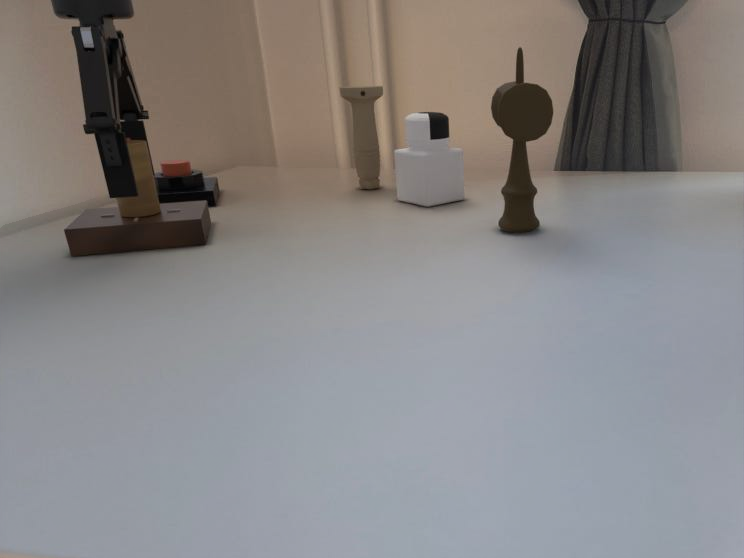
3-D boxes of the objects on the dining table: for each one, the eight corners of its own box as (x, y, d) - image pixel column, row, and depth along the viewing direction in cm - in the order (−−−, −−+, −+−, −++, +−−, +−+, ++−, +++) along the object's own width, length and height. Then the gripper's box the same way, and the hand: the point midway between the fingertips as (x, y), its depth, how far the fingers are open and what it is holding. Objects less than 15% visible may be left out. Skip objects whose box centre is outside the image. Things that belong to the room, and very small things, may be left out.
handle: (348, 186, 109) (338, 86, 103) (388, 184, 111) (380, 85, 104) (350, 192, 105) (340, 88, 99) (391, 189, 106) (384, 86, 100)
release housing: (140, 211, 95) (134, 182, 93) (152, 195, 106) (146, 169, 104) (215, 205, 98) (210, 177, 96) (219, 190, 108) (215, 165, 106)
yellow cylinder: (158, 215, 78) (142, 140, 75) (117, 218, 77) (98, 143, 74) (163, 207, 82) (148, 136, 79) (123, 210, 81) (106, 138, 78)
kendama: (499, 241, 77) (498, 47, 69) (489, 221, 86) (487, 47, 77) (551, 238, 77) (556, 46, 69) (536, 219, 86) (539, 46, 78)
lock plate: (71, 256, 74) (63, 228, 73) (92, 233, 84) (85, 207, 83) (205, 244, 78) (200, 217, 77) (211, 223, 88) (206, 198, 86)
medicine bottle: (434, 193, 103) (430, 109, 98) (465, 199, 98) (463, 112, 93) (396, 200, 99) (390, 113, 94) (427, 207, 94) (422, 116, 89)
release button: (161, 179, 98) (158, 164, 97) (164, 174, 101) (161, 160, 100) (191, 177, 99) (188, 162, 98) (193, 173, 102) (190, 159, 101)
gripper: (102, -38, 60) (155, 204, 69) (143, -14, 81) (179, 167, 90) (6, -39, 58) (73, 210, 67) (74, -15, 79) (117, 171, 88)
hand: (134, 186), depth 78 cm, fingers open, 13 cm apart
